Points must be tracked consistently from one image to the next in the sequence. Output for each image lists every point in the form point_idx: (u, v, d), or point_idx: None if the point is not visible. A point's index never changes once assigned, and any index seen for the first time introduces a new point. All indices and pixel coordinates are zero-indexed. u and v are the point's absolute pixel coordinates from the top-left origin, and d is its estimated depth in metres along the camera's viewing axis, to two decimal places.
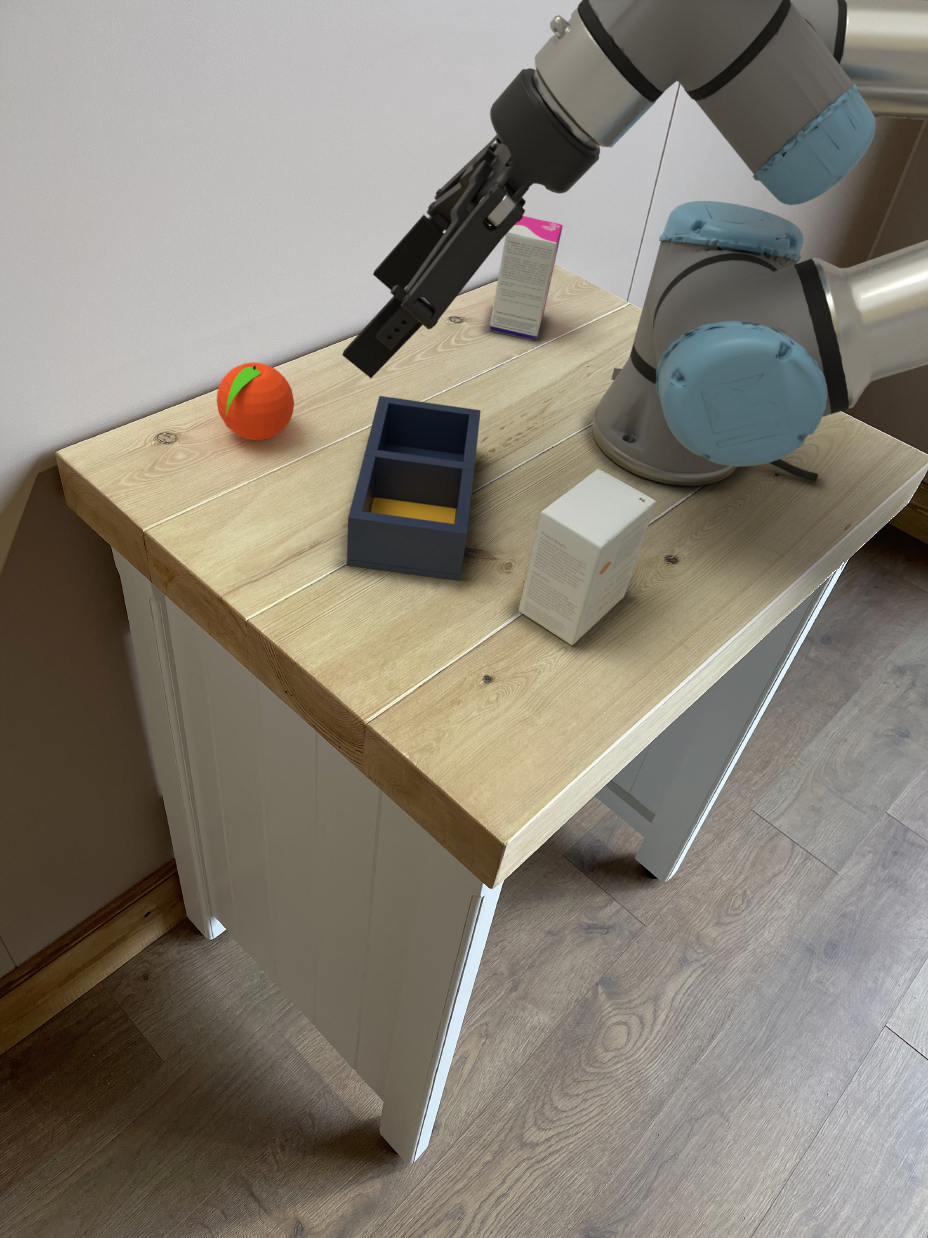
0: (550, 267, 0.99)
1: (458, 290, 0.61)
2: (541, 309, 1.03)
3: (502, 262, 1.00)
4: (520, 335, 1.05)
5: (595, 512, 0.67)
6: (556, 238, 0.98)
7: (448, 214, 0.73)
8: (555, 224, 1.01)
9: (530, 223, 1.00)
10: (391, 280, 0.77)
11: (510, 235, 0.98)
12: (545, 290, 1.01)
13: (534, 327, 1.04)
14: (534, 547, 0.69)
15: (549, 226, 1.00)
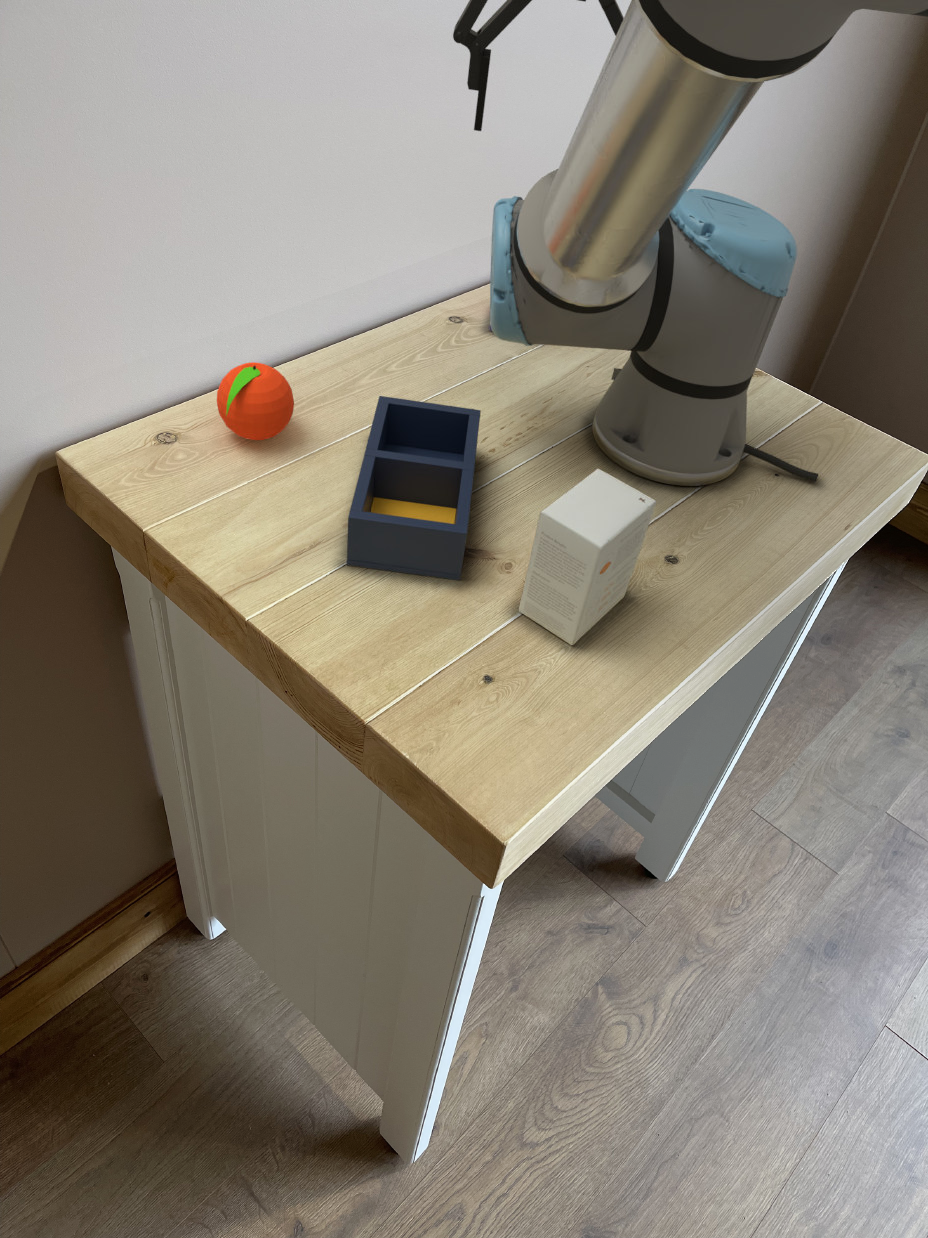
0: None
1: (469, 3, 0.84)
2: None
3: None
4: None
5: (595, 512, 0.67)
6: None
7: None
8: None
9: None
10: None
11: None
12: None
13: None
14: (534, 547, 0.69)
15: None
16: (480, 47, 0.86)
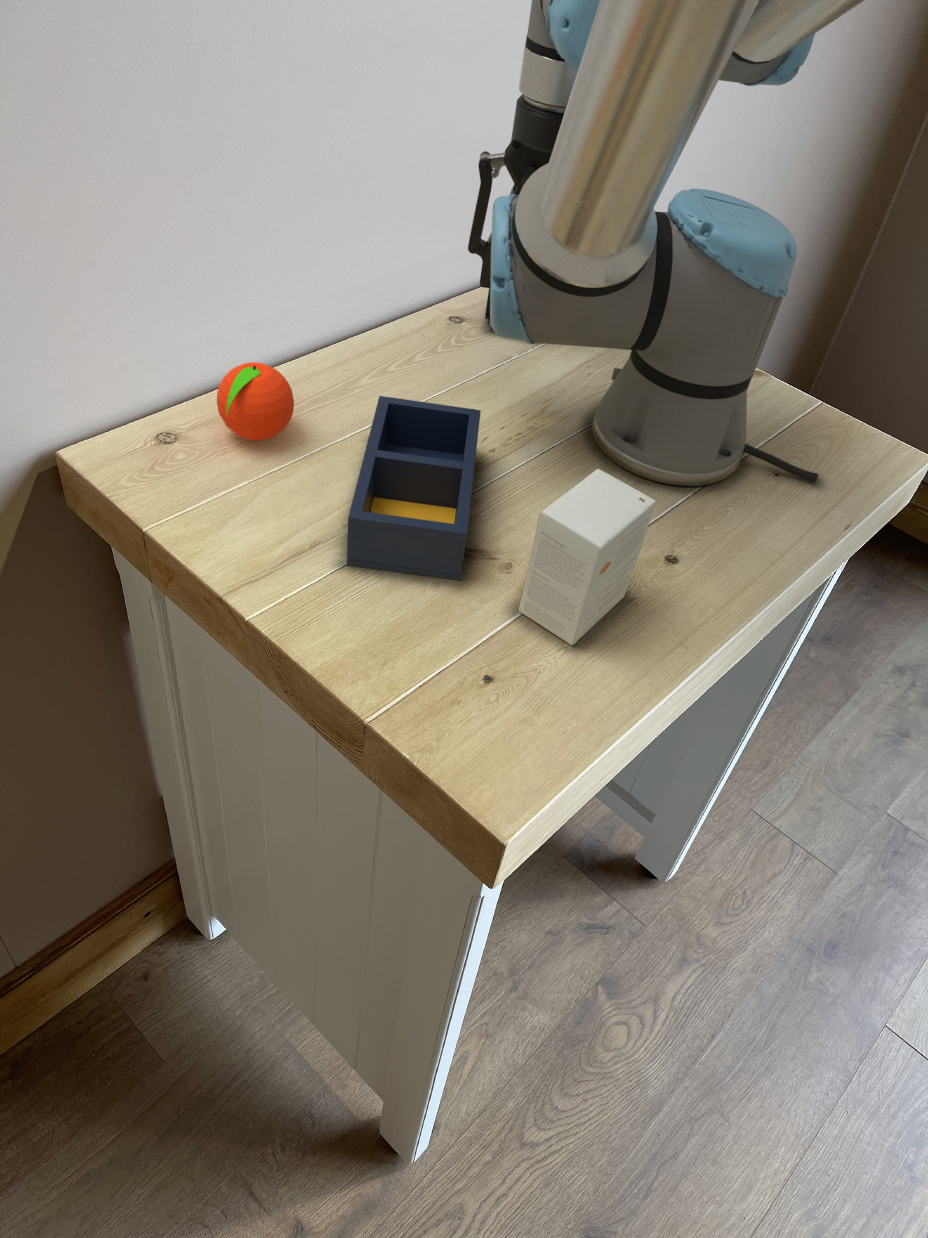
0: None
1: None
2: None
3: None
4: None
5: (595, 512, 0.67)
6: None
7: None
8: None
9: None
10: None
11: None
12: None
13: None
14: (534, 547, 0.69)
15: None
16: (491, 256, 1.01)
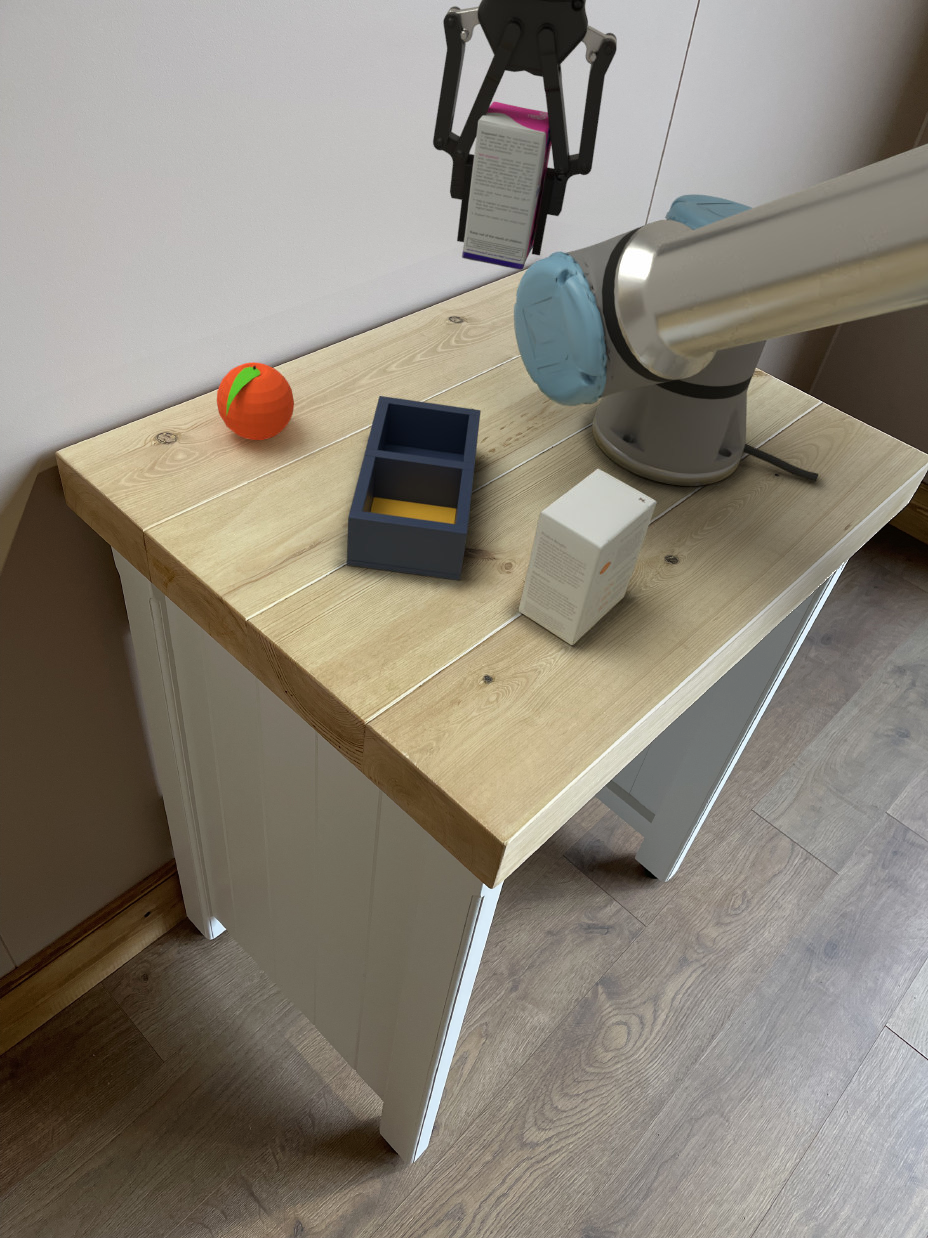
0: (537, 167, 0.75)
1: (438, 106, 0.75)
2: (528, 227, 0.79)
3: (475, 162, 0.76)
4: (502, 263, 0.81)
5: (595, 512, 0.67)
6: (545, 128, 0.74)
7: None
8: (546, 113, 0.77)
9: (512, 111, 0.76)
10: None
11: (484, 124, 0.74)
12: (532, 200, 0.77)
13: (520, 252, 0.80)
14: (534, 547, 0.69)
15: (537, 115, 0.76)
16: (463, 154, 0.77)
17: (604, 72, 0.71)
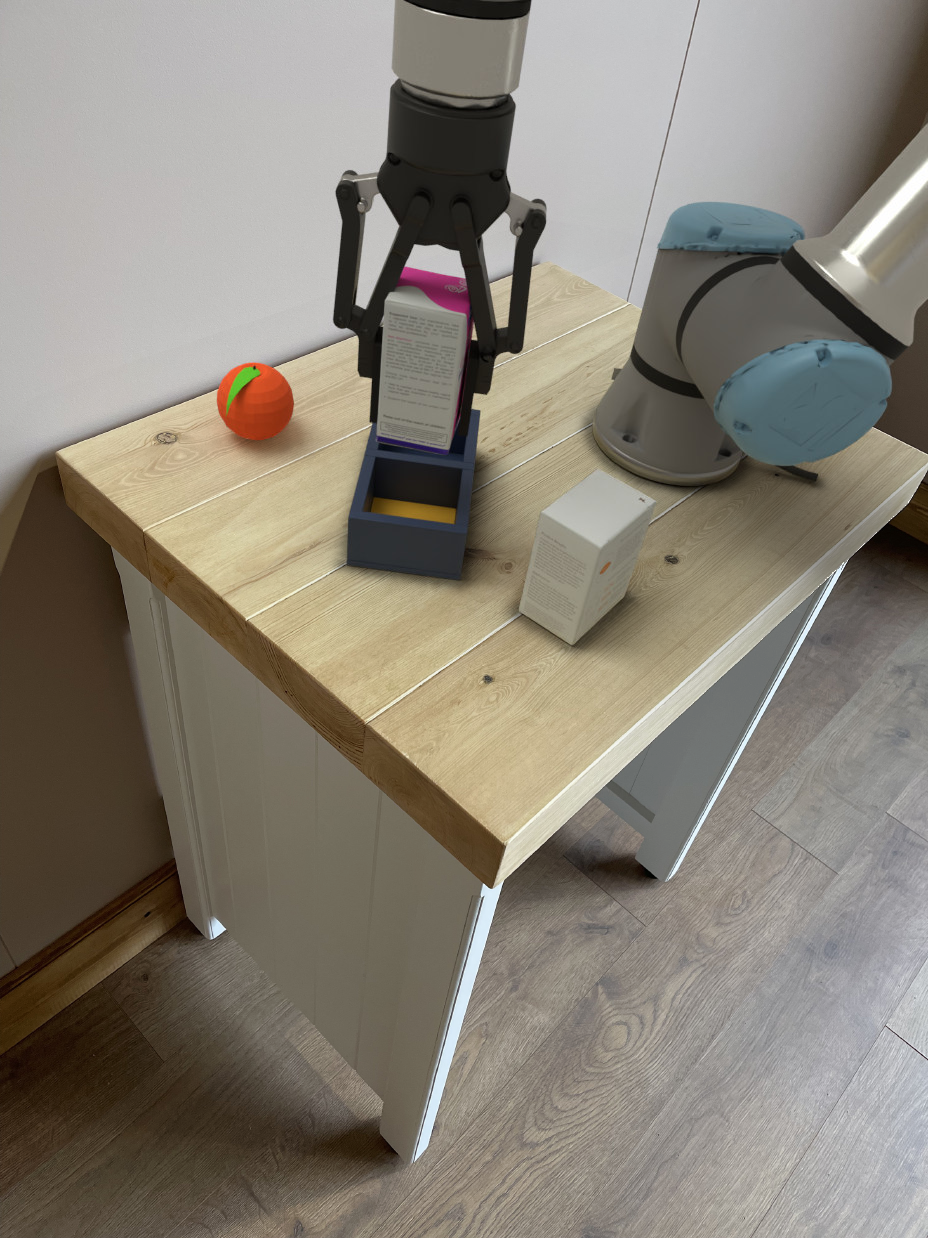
0: (459, 351, 0.63)
1: (336, 282, 0.62)
2: (451, 412, 0.66)
3: (384, 344, 0.64)
4: (423, 449, 0.69)
5: (595, 512, 0.67)
6: (466, 306, 0.62)
7: None
8: None
9: (426, 282, 0.64)
10: None
11: (392, 304, 0.61)
12: (454, 385, 0.65)
13: (443, 437, 0.68)
14: (534, 547, 0.69)
15: (456, 285, 0.64)
16: (370, 333, 0.64)
17: (533, 247, 0.59)
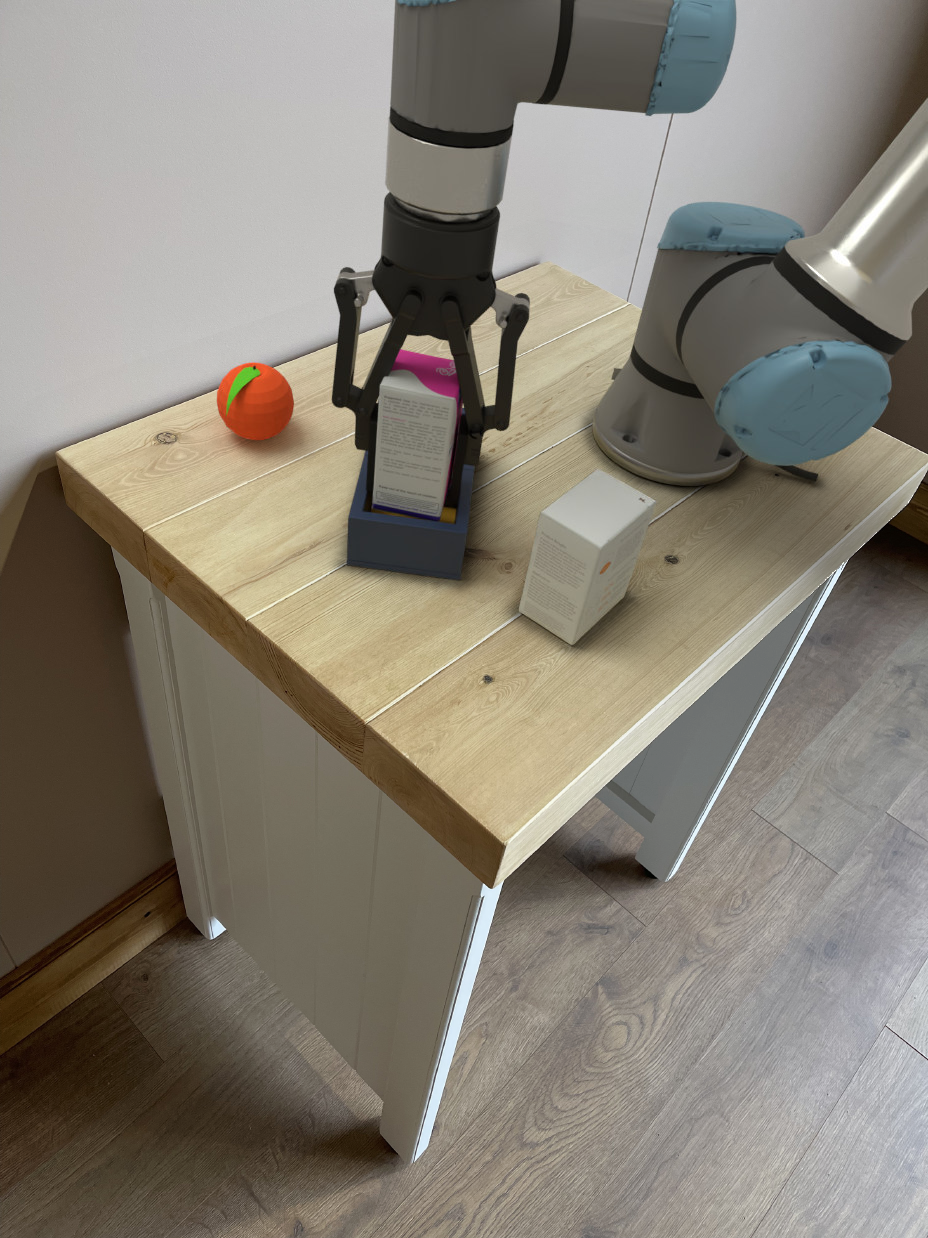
0: (449, 430, 0.68)
1: None
2: (442, 484, 0.71)
3: (379, 424, 0.68)
4: (416, 516, 0.74)
5: (595, 512, 0.67)
6: (455, 390, 0.67)
7: None
8: None
9: (418, 365, 0.68)
10: None
11: (386, 389, 0.66)
12: (445, 460, 0.69)
13: (435, 506, 0.73)
14: (534, 547, 0.69)
15: (446, 368, 0.69)
16: (366, 412, 0.69)
17: (517, 338, 0.64)
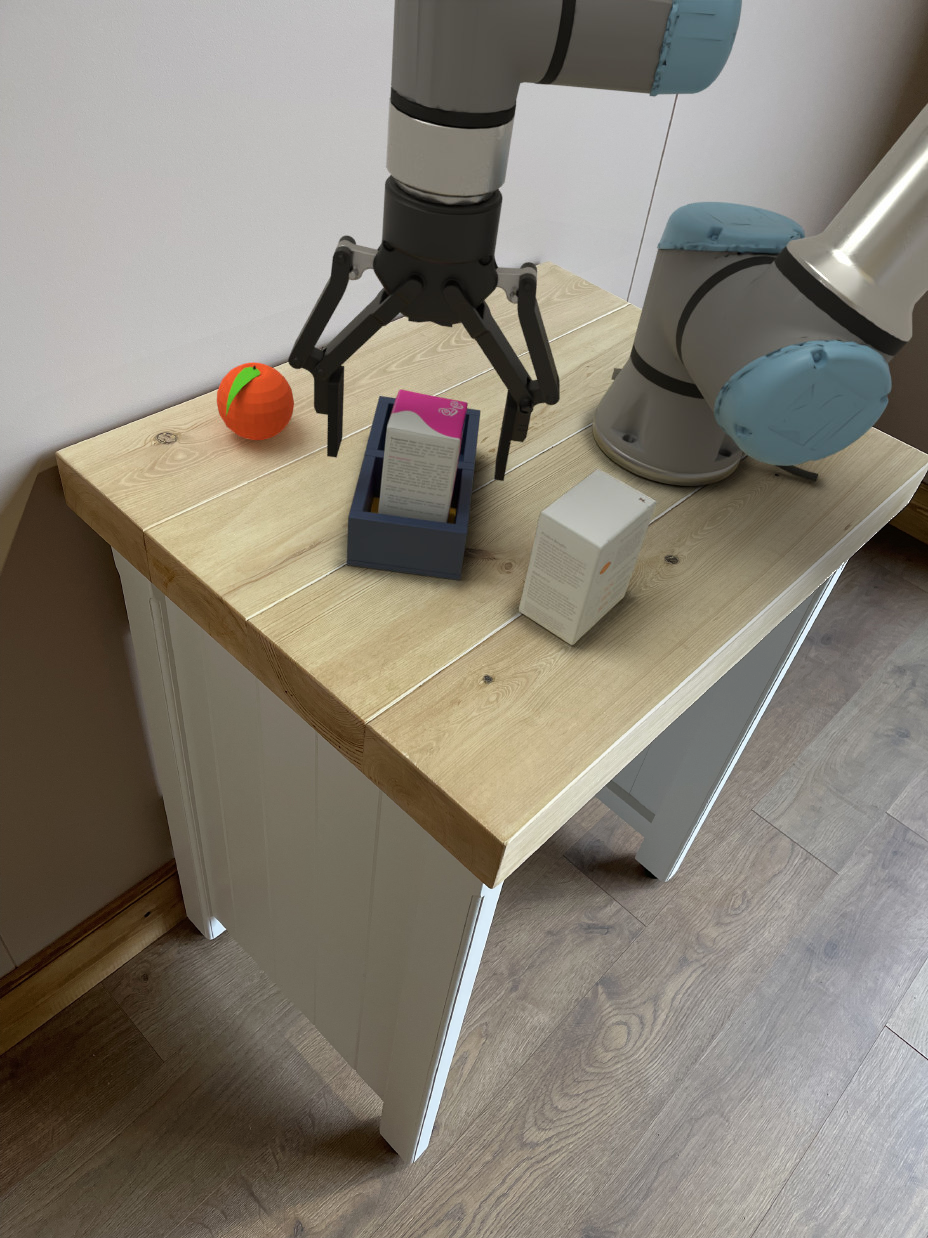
0: (453, 469, 0.70)
1: (304, 328, 0.65)
2: (445, 518, 0.74)
3: (385, 463, 0.71)
4: None
5: (595, 512, 0.67)
6: (459, 430, 0.70)
7: None
8: (457, 403, 0.72)
9: (421, 405, 0.71)
10: (496, 463, 0.73)
11: (393, 431, 0.69)
12: (448, 496, 0.72)
13: None
14: (534, 547, 0.69)
15: (448, 408, 0.71)
16: (324, 374, 0.67)
17: (533, 308, 0.62)
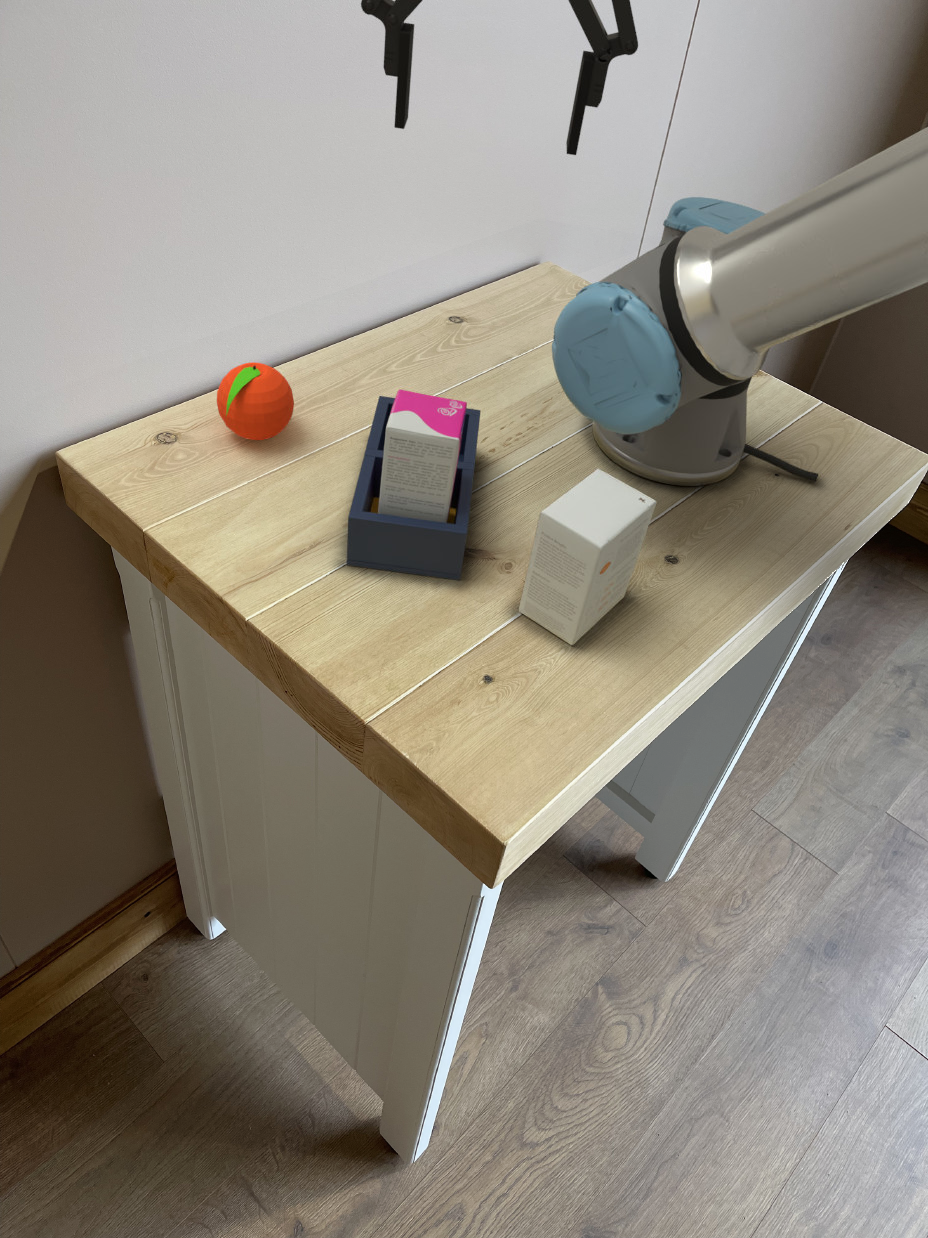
0: (452, 468, 0.70)
1: None
2: (444, 518, 0.74)
3: (384, 463, 0.71)
4: None
5: (595, 512, 0.67)
6: (458, 430, 0.70)
7: None
8: (456, 403, 0.72)
9: (420, 405, 0.71)
10: (568, 138, 0.72)
11: (392, 431, 0.69)
12: (448, 496, 0.72)
13: None
14: (534, 547, 0.69)
15: (447, 408, 0.71)
16: (397, 20, 0.67)
17: None
